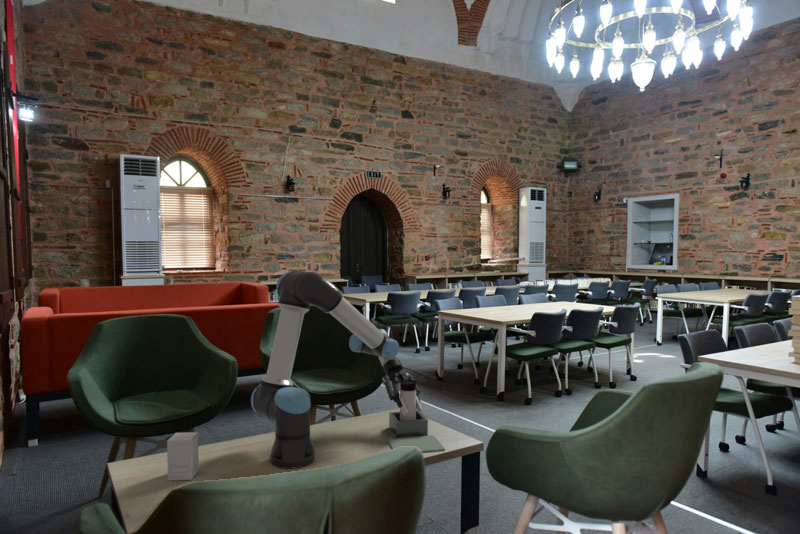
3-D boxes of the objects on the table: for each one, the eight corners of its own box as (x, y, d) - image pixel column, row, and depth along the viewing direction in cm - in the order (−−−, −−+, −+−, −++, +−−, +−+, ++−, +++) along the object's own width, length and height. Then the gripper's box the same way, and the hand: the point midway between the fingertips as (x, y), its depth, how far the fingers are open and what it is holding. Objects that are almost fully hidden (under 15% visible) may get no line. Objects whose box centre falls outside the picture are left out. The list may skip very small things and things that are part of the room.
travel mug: (416, 434, 202) (417, 382, 202) (399, 433, 203) (400, 382, 202) (416, 428, 209) (417, 379, 208) (399, 428, 209) (400, 378, 208)
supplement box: (199, 470, 169) (199, 431, 168) (191, 480, 161) (190, 440, 161) (176, 470, 168) (175, 432, 168) (166, 480, 161) (166, 440, 161)
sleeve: (396, 438, 198) (396, 422, 198) (389, 427, 210) (389, 412, 210) (427, 435, 201) (427, 420, 201) (419, 424, 213) (419, 410, 213)
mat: (395, 455, 182) (395, 453, 182) (387, 440, 196) (387, 439, 196) (445, 450, 186) (445, 448, 186) (433, 436, 200) (433, 435, 200)
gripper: (406, 365, 223) (429, 413, 210) (367, 371, 212) (388, 421, 199) (413, 355, 218) (437, 403, 205) (374, 360, 208) (396, 411, 195)
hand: (413, 412), depth 202 cm, fingers closed on travel mug, 6 cm apart
